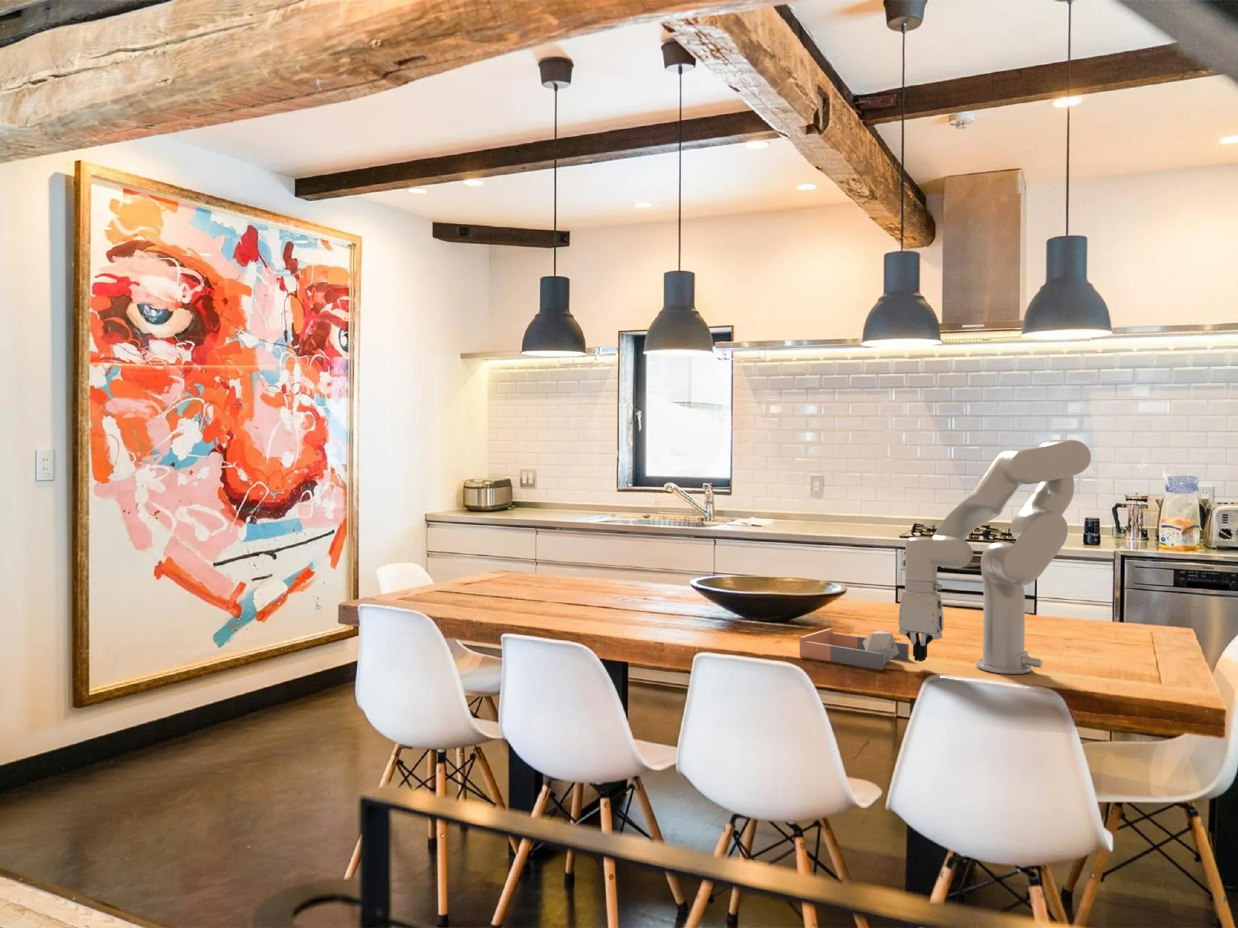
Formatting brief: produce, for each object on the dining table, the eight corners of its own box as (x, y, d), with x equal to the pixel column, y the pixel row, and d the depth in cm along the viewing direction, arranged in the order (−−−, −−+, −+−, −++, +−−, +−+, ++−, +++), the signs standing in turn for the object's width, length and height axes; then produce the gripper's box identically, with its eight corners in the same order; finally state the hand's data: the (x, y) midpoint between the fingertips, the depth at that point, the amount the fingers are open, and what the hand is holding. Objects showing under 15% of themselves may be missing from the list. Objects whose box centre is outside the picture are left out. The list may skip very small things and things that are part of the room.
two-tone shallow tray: (908, 659, 237) (908, 640, 237) (881, 670, 225) (881, 650, 225) (829, 646, 252) (829, 628, 252) (799, 655, 240) (799, 637, 240)
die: (865, 668, 230) (889, 640, 227) (850, 645, 237) (873, 618, 234) (888, 676, 233) (911, 649, 230) (872, 653, 241) (895, 627, 237)
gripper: (956, 588, 224) (955, 662, 224) (898, 582, 234) (898, 653, 234) (944, 591, 218) (943, 667, 219) (885, 585, 228) (885, 658, 229)
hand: (920, 660), depth 227 cm, fingers closed
